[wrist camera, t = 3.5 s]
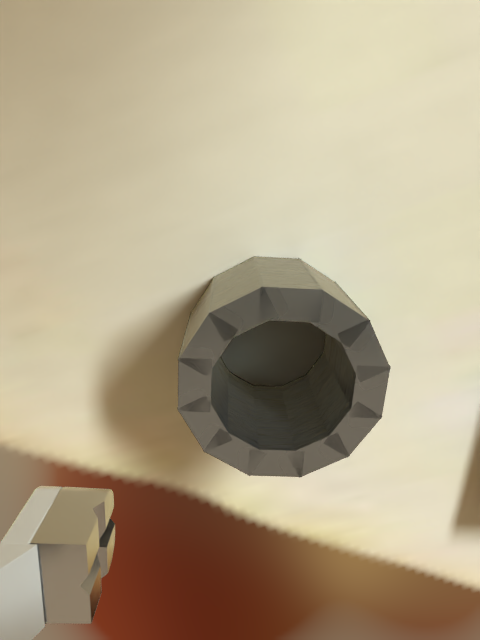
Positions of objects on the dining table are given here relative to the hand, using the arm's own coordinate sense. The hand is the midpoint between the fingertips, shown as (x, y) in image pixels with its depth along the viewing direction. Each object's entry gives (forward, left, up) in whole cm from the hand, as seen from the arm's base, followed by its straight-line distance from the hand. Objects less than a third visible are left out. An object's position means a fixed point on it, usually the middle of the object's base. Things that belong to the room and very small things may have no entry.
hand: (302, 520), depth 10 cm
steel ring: (-1, 0, -9) cm, 9 cm away
